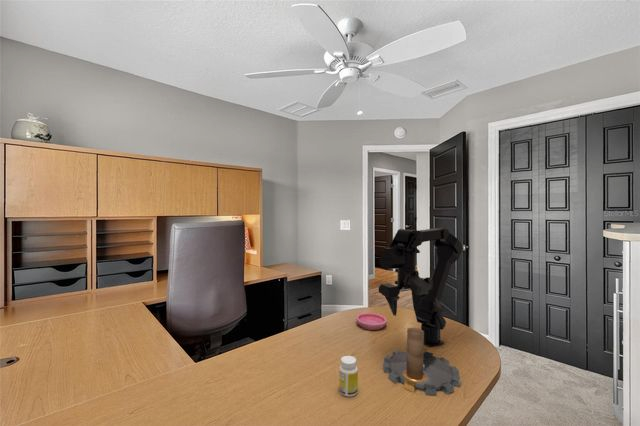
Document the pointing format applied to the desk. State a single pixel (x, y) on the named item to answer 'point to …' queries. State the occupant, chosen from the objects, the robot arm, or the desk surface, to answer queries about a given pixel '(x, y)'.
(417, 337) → the pin
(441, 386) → the sprocket plate
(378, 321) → the saucer
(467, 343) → the desk surface
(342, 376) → the supplement bottle
